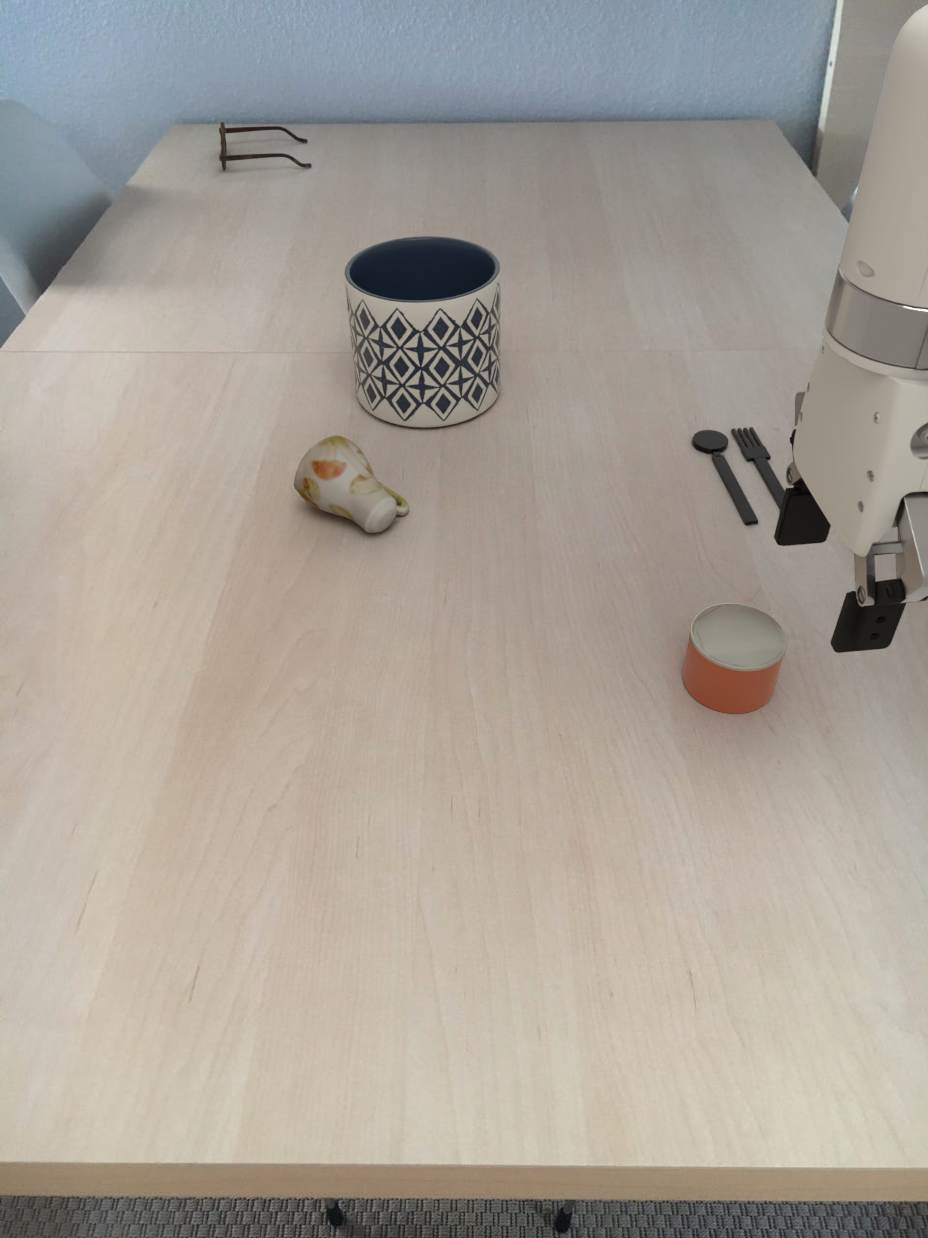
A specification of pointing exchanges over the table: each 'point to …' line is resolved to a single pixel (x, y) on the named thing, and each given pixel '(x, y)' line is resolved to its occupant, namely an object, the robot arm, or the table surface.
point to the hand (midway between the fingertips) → (827, 590)
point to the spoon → (724, 470)
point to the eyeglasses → (224, 157)
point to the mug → (347, 485)
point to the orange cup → (733, 657)
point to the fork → (759, 461)
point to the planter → (425, 329)
